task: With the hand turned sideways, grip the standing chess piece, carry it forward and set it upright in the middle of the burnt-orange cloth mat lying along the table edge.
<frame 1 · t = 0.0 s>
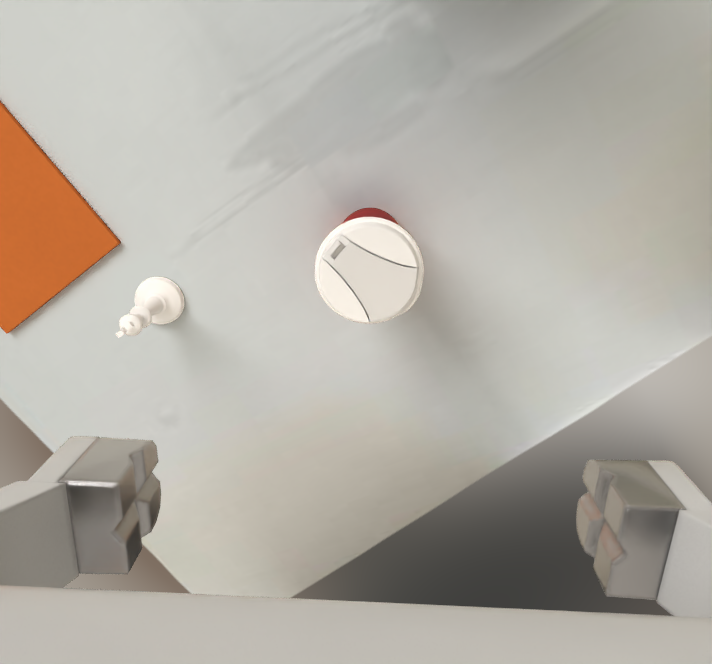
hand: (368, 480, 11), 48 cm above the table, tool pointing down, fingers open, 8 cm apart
chess piece: (161, 299, 61), on the table
coffee cup: (370, 238, 58), on the table
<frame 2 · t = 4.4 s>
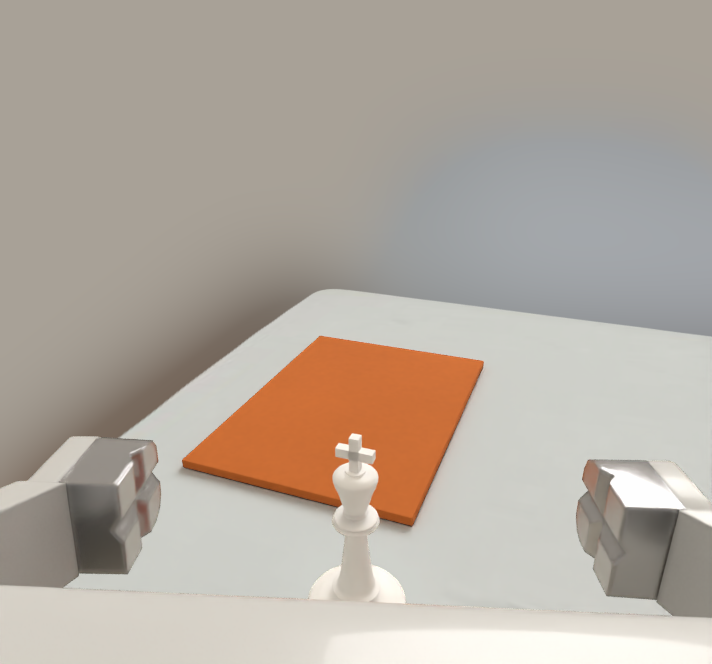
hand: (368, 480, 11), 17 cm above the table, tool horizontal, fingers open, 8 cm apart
chess piece: (356, 613, 29), on the table
cloth mat: (354, 409, 47), on the table
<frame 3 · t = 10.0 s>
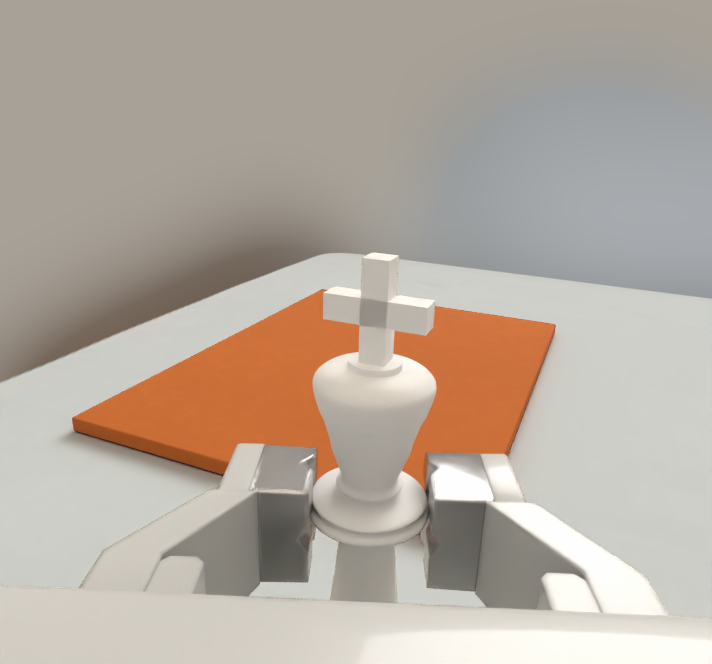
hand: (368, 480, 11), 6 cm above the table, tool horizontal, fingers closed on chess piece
cloth mat: (366, 371, 30), on the table
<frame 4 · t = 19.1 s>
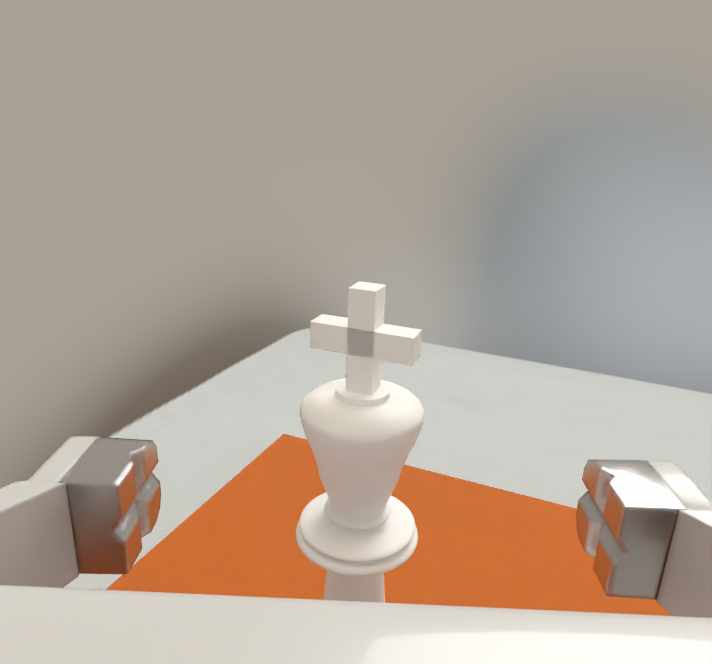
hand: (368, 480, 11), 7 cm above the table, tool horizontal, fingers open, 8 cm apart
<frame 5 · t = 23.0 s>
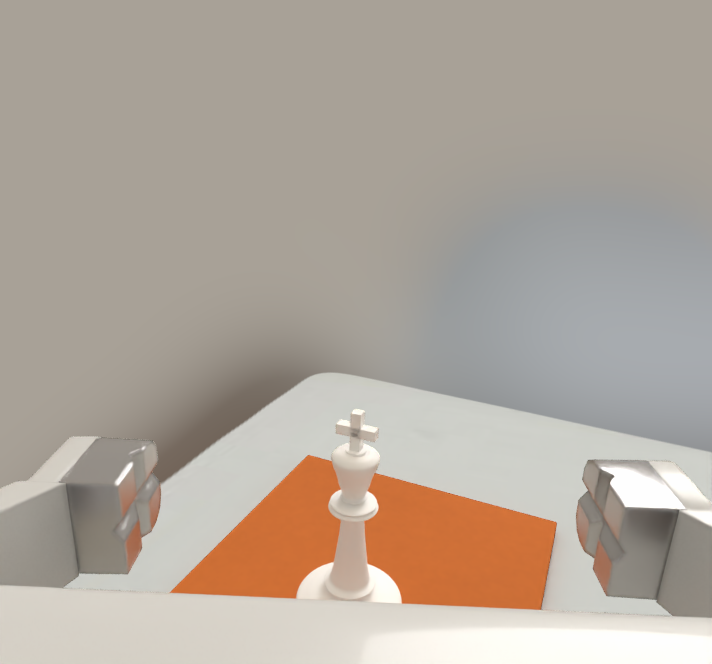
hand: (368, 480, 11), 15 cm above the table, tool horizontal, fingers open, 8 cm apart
chess piece: (348, 612, 27), resting on cloth mat
cloth mat: (350, 617, 28), on the table
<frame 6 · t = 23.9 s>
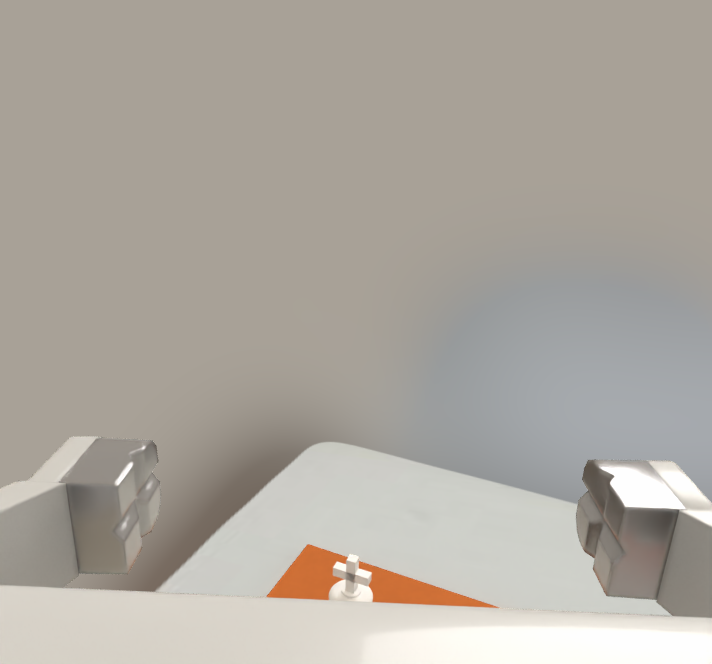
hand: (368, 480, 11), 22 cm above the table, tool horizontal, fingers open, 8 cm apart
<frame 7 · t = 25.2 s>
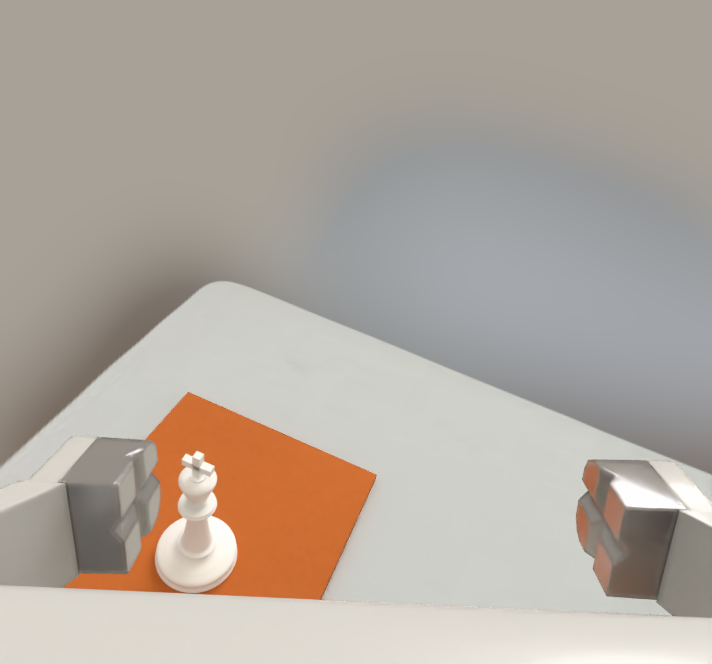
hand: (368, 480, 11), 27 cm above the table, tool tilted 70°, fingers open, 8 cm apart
chess piece: (196, 556, 37), resting on cloth mat
cloth mat: (198, 557, 38), on the table
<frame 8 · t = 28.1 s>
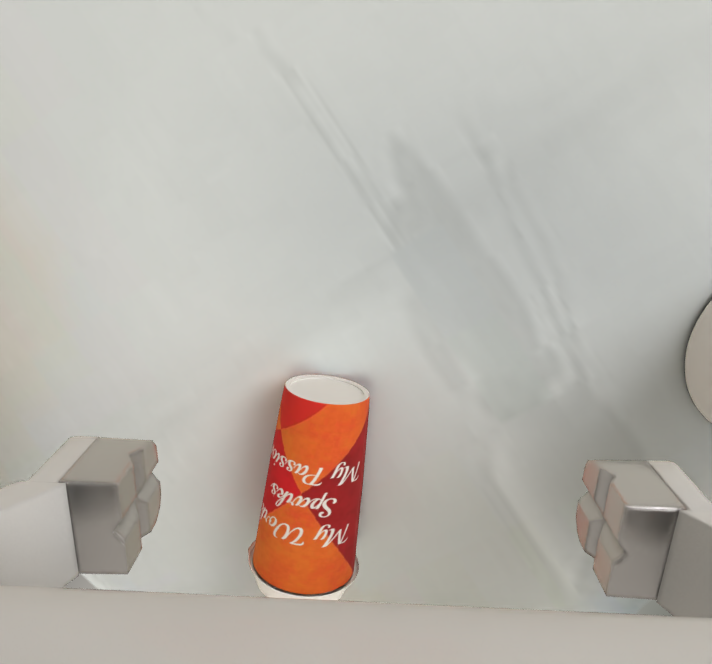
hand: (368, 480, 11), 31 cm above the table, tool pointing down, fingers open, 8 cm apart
coffee cup: (326, 385, 42), point 3 cm above the table
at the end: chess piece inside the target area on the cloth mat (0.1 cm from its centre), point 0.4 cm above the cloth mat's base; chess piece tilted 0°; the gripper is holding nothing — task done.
